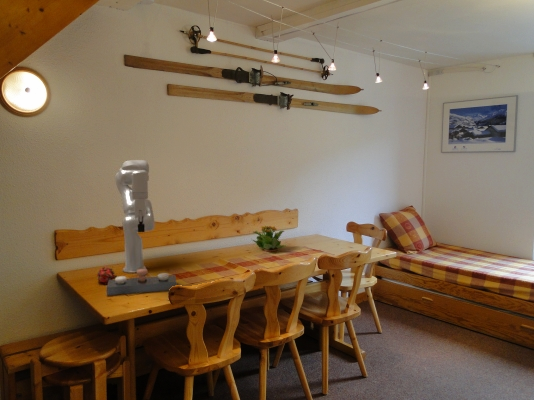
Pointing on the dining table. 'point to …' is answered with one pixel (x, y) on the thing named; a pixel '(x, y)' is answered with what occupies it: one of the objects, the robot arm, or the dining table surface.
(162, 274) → the knob
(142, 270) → the dial
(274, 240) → the potted flower
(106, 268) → the dragon fruit
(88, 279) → the dining table surface
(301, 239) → the dining table surface
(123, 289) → the knob mount
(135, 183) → the robot arm
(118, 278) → the knob
